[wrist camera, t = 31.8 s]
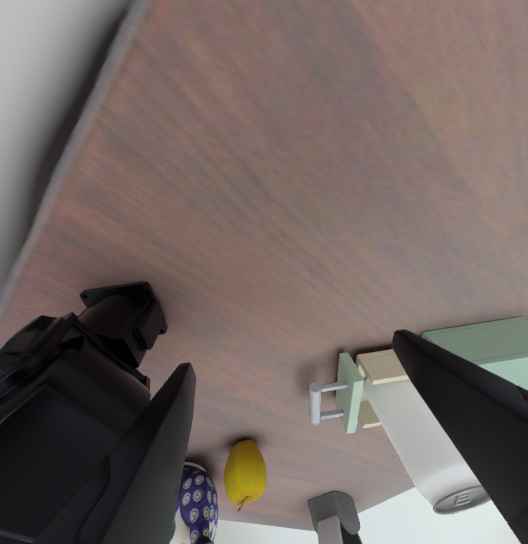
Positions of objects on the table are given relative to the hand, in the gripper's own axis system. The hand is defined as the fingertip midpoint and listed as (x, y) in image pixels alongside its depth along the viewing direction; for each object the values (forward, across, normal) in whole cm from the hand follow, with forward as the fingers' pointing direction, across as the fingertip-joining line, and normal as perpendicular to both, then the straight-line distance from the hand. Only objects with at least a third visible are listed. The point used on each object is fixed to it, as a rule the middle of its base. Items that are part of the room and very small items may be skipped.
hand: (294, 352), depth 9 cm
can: (+11, -14, +21) cm, 28 cm away
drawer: (+12, -12, +21) cm, 27 cm away
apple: (+13, +7, +35) cm, 38 cm away
